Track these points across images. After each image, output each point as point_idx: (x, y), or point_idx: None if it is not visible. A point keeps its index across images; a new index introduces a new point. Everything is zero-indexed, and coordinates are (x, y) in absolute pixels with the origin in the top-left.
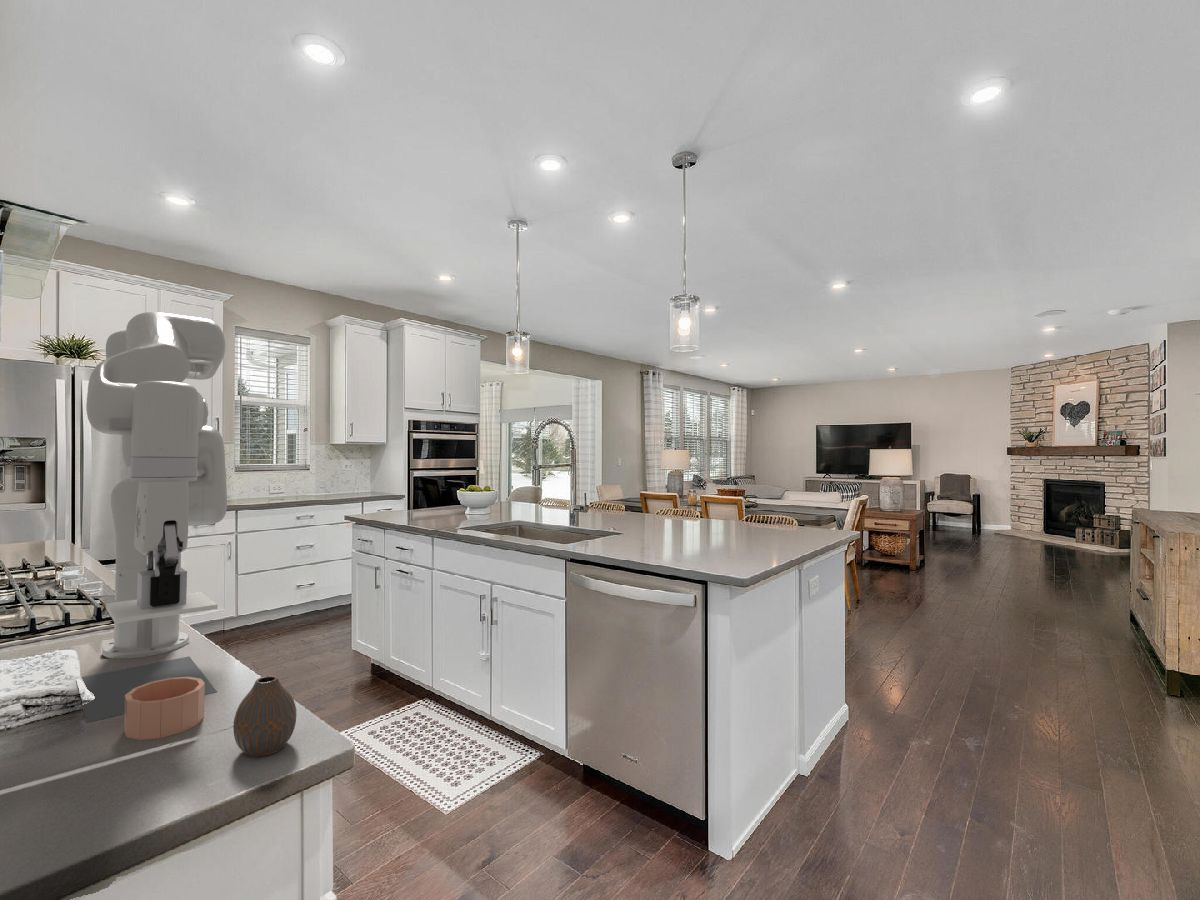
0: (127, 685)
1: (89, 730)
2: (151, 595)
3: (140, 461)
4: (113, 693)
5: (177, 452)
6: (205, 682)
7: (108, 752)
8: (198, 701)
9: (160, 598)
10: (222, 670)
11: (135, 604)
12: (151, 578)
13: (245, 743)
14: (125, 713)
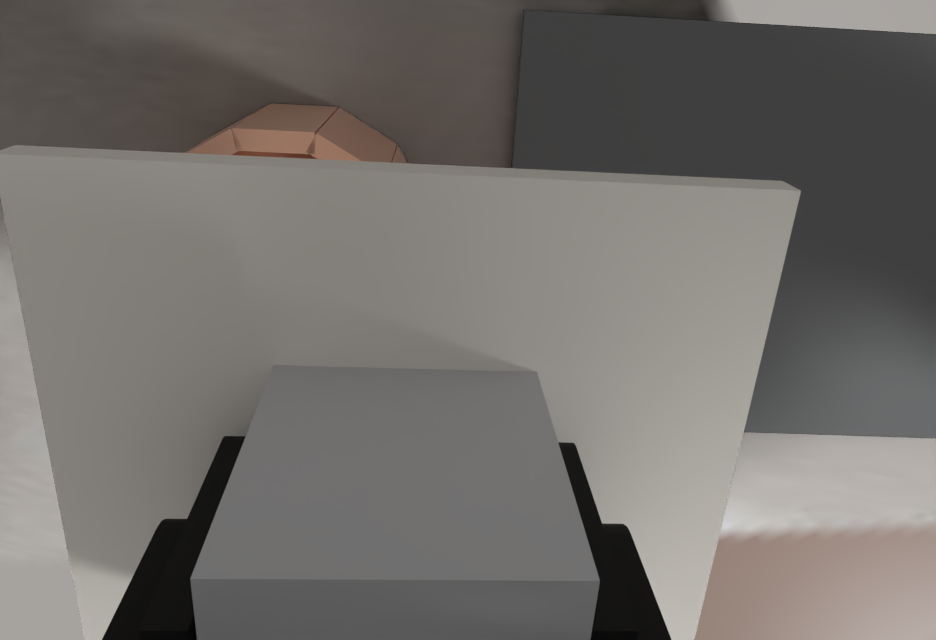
0: (837, 200)
1: (465, 12)
2: (203, 493)
3: None
4: (786, 143)
5: None
6: None
7: (194, 36)
8: None
9: (163, 526)
10: (732, 486)
11: (542, 364)
12: (143, 622)
13: None
14: (292, 119)
